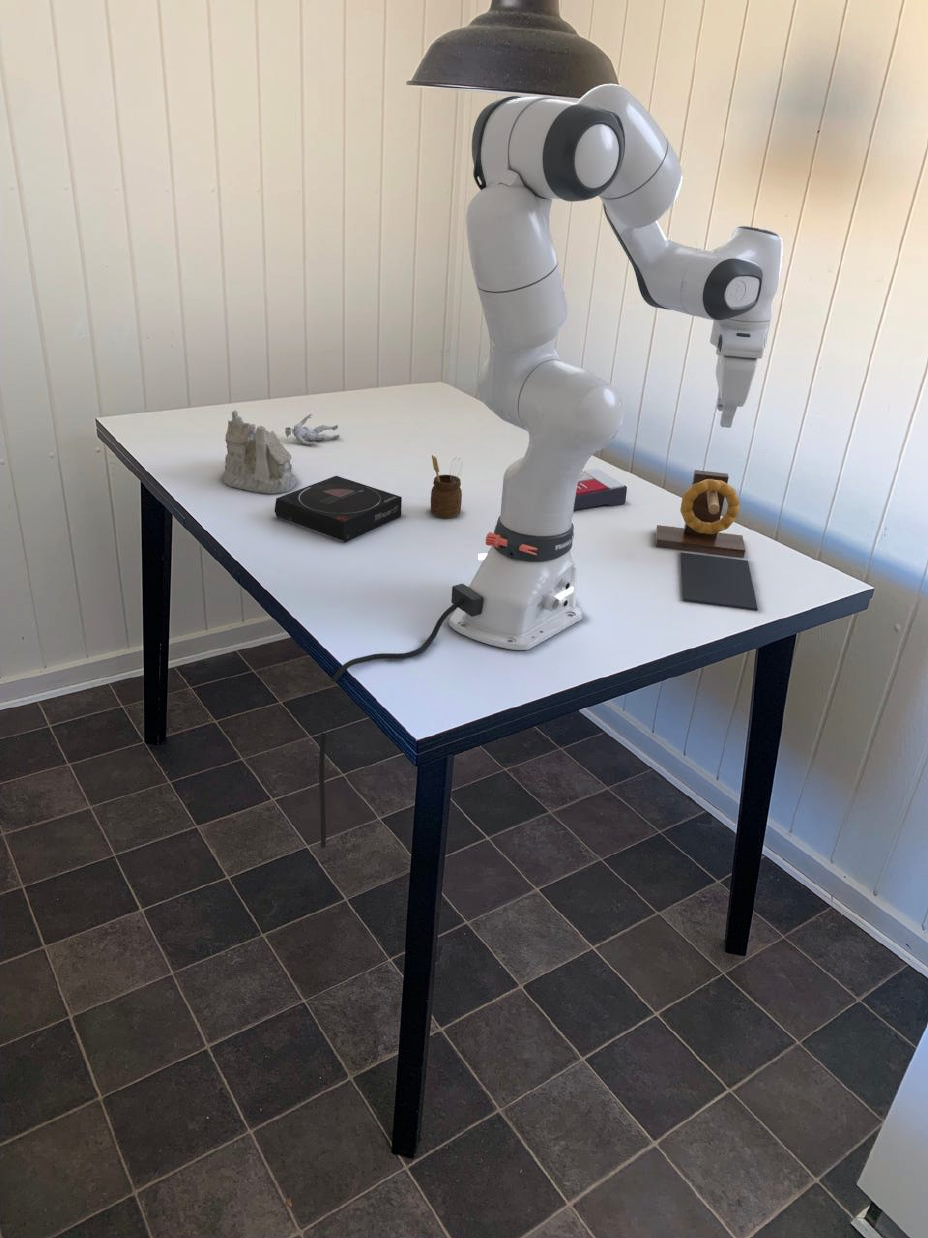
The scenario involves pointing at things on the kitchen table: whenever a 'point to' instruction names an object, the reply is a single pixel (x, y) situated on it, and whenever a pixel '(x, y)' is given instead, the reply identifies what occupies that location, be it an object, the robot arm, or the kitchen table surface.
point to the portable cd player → (338, 508)
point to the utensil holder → (446, 494)
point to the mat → (717, 581)
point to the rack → (705, 510)
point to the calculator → (598, 490)
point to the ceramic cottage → (256, 459)
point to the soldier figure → (310, 432)
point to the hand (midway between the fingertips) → (723, 417)
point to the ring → (704, 487)
